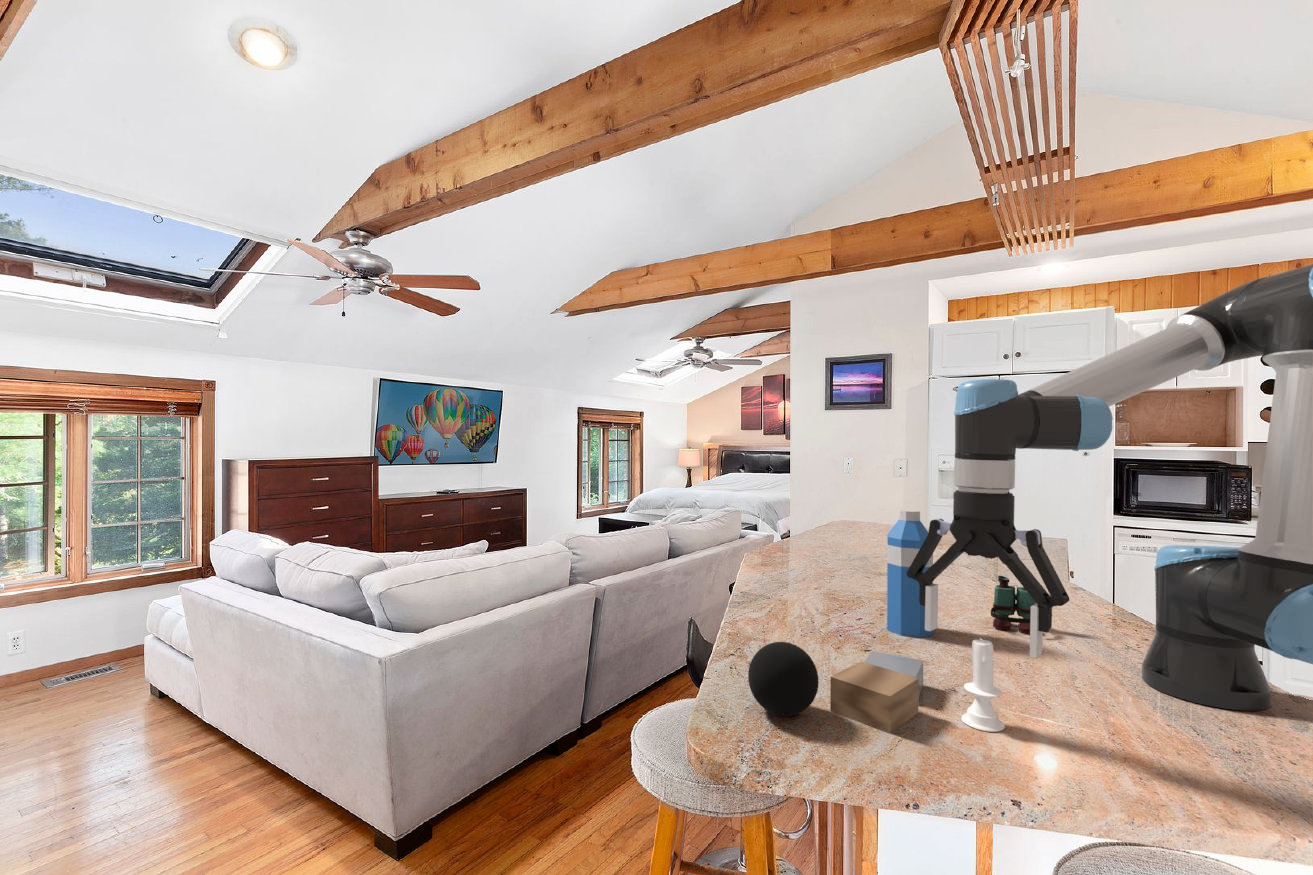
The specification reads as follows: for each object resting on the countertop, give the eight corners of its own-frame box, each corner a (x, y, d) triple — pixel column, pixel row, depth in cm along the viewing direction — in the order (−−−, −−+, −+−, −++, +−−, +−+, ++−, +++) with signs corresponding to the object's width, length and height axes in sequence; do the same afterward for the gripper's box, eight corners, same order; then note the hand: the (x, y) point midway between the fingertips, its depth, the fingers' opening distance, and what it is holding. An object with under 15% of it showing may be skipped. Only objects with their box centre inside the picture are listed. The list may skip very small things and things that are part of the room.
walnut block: (918, 712, 87) (918, 678, 87) (890, 733, 81) (890, 696, 81) (860, 693, 93) (861, 661, 93) (830, 710, 87) (830, 676, 87)
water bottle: (940, 629, 125) (940, 510, 125) (924, 640, 118) (925, 514, 118) (895, 620, 131) (896, 506, 131) (878, 630, 124) (878, 510, 124)
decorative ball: (833, 717, 85) (833, 647, 85) (781, 735, 80) (782, 661, 80) (783, 692, 94) (783, 628, 94) (734, 707, 88) (734, 639, 88)
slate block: (923, 684, 96) (923, 660, 97) (915, 703, 90) (915, 676, 90) (872, 674, 101) (872, 650, 101) (860, 691, 94) (860, 665, 94)
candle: (961, 726, 83) (961, 640, 83) (961, 711, 87) (962, 629, 87) (1005, 735, 80) (1006, 646, 80) (1003, 719, 85) (1004, 635, 85)
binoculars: (989, 585, 123) (992, 572, 131) (990, 635, 124) (992, 618, 132) (1041, 591, 118) (1040, 577, 126) (1041, 643, 119) (1040, 625, 127)
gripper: (1098, 496, 77) (1094, 659, 77) (907, 482, 95) (904, 615, 95) (1084, 499, 72) (1080, 674, 72) (885, 484, 90) (882, 624, 90)
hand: (980, 641), depth 84 cm, fingers open, 13 cm apart
